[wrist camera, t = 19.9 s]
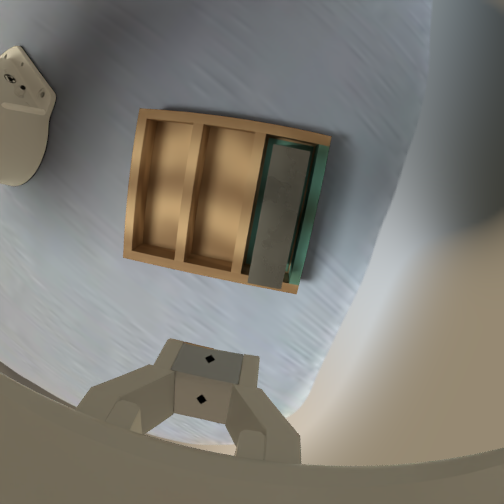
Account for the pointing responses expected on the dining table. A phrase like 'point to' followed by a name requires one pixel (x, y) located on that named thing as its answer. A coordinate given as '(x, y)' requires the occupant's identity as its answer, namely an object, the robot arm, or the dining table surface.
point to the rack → (212, 193)
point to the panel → (278, 215)
